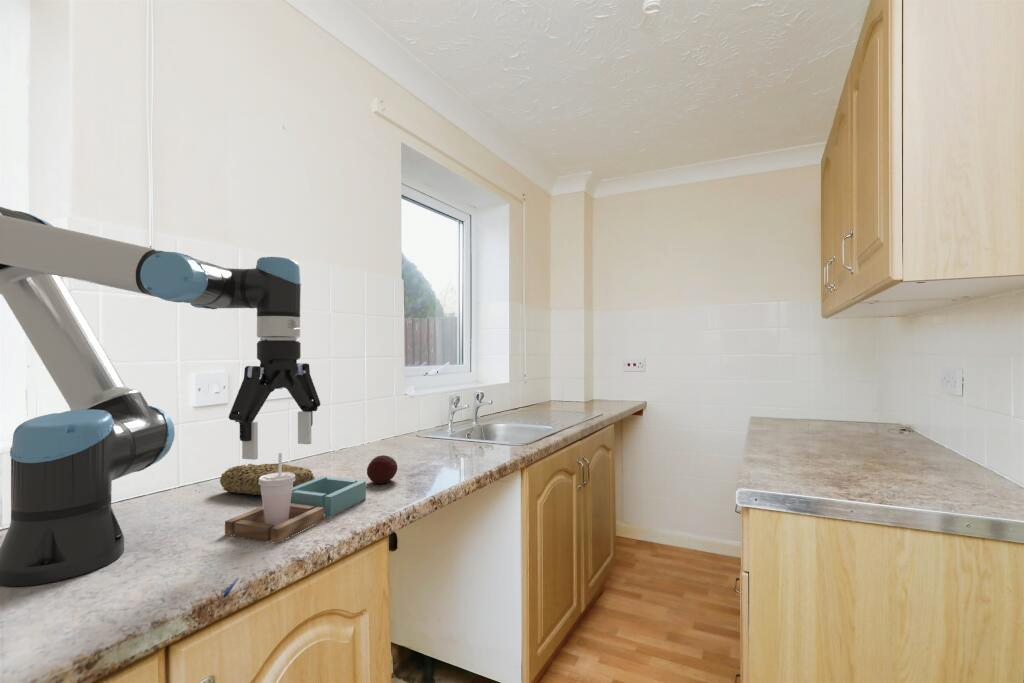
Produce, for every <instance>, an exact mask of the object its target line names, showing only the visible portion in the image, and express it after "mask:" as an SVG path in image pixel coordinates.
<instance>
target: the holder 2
mask: <svg viewBox="0 0 1024 683" xmlns="http://www.w3.org/2000/svg"><path fill="white" fill-rule="evenodd" d="M366 494H367V481H365V480H359V481H358V480H357V479H348V478H340V477H332V476H331V477H328V476H320V477H317V478H315V479H314V480H311V481H308V482H306V483H303V484H300V485H298V486H295V487H293V489H292V496H291V503H294V504H301V505H309V506H315V508H316V507H324V517H329V516H331V517H333V516H335V515H337V514H339V513H340V511H341V512H343V511H345V510H347V509H349V508H351V507H352V505H353V506H355V505H357V504H358V502H359V503H361V502H363V501H364V499H365V500H366V499H367V495H366ZM362 500H363V501H362ZM360 501H361V502H360ZM356 503H357V504H356ZM354 504H355V505H354ZM350 506H351V507H350ZM348 507H349V508H348ZM346 508H347V509H346ZM344 509H345V510H344ZM342 510H343V511H342ZM338 512H339V513H338ZM336 513H337V514H336ZM334 514H335V515H334ZM332 515H333V516H332Z"/></svg>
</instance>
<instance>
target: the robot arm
mask: <svg viewBox="0 0 1024 683" xmlns="http://www.w3.org/2000/svg"><path fill="white" fill-rule="evenodd" d="M300 271H301V269H300V265H299V263H298V262H297V261H296V260H295V259H293V258H288V257H280V256H279V257H278V256H266V257H265V256H264V257H259V258H258V259H257V261H256V266H255V268H254V267H253V268H227V267H223V266H219V265H216V264H215V263H214V264H213V263H209V262H208V261H207V262H206V261H203V260H200V259H197V258H194V257H193V256H190V255H188V254H184V253H179V252H175V251H165V250H158V249H156V248H152V247H146V246H142V245H137V244H134V243H128V242H124V241H120V240H115V239H111V238H107V237H101V236H98V235H97V236H96V235H94V234H93V235H92V234H88V233H84V232H79V231H75V230H70V229H66V228H61V227H57V226H54V225H52V224H51V223H49V222H48V221H46V220H44V219H42V218H39V217H37V216H35V215H32V214H30V213H27V212H24V211H18V210H14V209H13V210H12V209H11V208H6V207H2V206H0V295H2V297H3V298H4V300H5V302H6V303H7V306H8V308H10V310H11V312H12V314H13V315H14V318H16V320H17V322H18V323H19V325H20V326H21V330H23V332H24V333H25V335H26V337H27V339H28V340H29V342H30V344H31V345H32V347H33V349H34V350H35V352H36V354H37V355H38V357H39V358H40V360H41V362H42V364H43V365H44V367H45V369H46V371H47V372H48V373H49V376H50V378H51V379H52V380H53V382H54V383H55V385H56V387H57V388H58V390H59V391H60V393H61V395H62V397H63V398H64V400H65V402H66V404H67V405H68V406H69V409H70V410H66V411H62V412H53V413H49V414H48V413H47V414H43V415H40V416H37V417H33V418H29V419H28V420H25V421H23V422H22V423H20V424H18V426H17V427H16V428H15V429H14V431H13V434H12V444H11V447H10V451H9V456H10V524H9V526H8V529H7V531H6V534H5V536H4V539H3V541H2V543H1V545H0V586H7V587H25V586H26V587H27V586H35V585H42V584H48V583H53V582H59V581H62V580H67V579H71V578H74V577H77V576H82V575H84V574H86V573H90V572H93V571H96V570H98V569H100V568H102V567H105V566H107V565H109V564H110V563H112V562H114V561H116V560H117V559H119V558H120V557H121V556H122V555H123V554H124V552H125V536H124V534H123V531H122V528H121V527H120V524H119V522H118V520H117V519H118V518H117V517H116V514H115V511H114V510H113V507H112V488H113V487H112V485H113V484H112V483H113V482H112V481H114V480H118V479H120V478H122V477H125V476H127V475H130V474H132V473H133V474H134V473H135V472H136V473H137V472H141V471H144V470H145V469H147V468H149V467H151V466H152V465H154V464H156V463H157V462H160V461H161V460H162V459H163V458H164V457H166V455H168V453H169V452H170V450H171V448H172V445H173V443H174V441H175V425H174V423H173V420H172V419H171V416H170V415H169V414H168V413H167V412H165V411H164V410H163V409H161V408H158V407H155V406H152V405H149V404H148V402H147V401H146V399H145V398H144V395H143V394H142V392H141V391H140V390H137V389H133V388H129V387H127V386H126V385H125V383H124V380H122V378H121V376H120V374H119V373H118V371H117V370H116V367H115V366H114V365H113V362H112V361H111V359H110V358H109V355H108V354H107V352H106V351H105V349H104V348H103V345H102V344H101V342H100V341H99V339H98V337H97V336H96V334H95V332H94V330H93V329H92V327H91V326H90V323H89V322H88V321H87V319H86V317H85V315H84V314H83V312H82V310H81V308H80V306H79V305H78V303H77V301H76V300H75V299H74V297H73V295H72V293H71V292H70V290H69V288H68V287H67V285H66V283H65V282H64V280H63V279H64V278H67V279H71V280H77V281H82V282H87V283H90V284H95V285H101V286H105V287H110V288H115V289H120V290H125V291H128V292H133V293H138V294H142V295H148V296H150V297H156V298H159V299H161V300H164V301H167V302H173V303H183V304H184V303H185V304H190V305H191V306H192V307H194V308H198V309H208V310H209V309H210V310H217V309H256V337H257V338H259V339H260V340H258V341H257V342H256V358H257V360H259V362H260V363H259V366H257V365H246V366H245V367H244V372H243V380H242V382H241V385H240V387H239V389H238V392H237V395H236V397H235V399H234V402H233V403H232V404H233V405H232V407H231V409H230V413H229V415H228V419H229V420H230V421H234V422H235V423H238V424H239V440H240V442H241V443H242V444H241V448H242V450H241V453H242V454H241V455H242V456H241V458H242V460H243V459H244V460H251V461H252V460H253V461H255V460H258V459H259V458H258V457H259V455H258V454H259V453H258V452H259V450H258V449H259V445H258V443H259V442H258V440H259V439H258V438H259V435H258V429H259V428H258V425H259V423H258V421H254V420H255V418H256V417H257V415H258V414H259V413H260V410H261V409H262V408H263V406H264V404H265V403H266V401H267V399H268V397H269V396H270V394H271V393H273V392H274V391H275V390H278V389H287V391H288V393H289V394H290V396H291V397H292V399H293V400H294V402H295V403H296V404H297V406H298V407H299V408H300V410H301V411H297V444H299V445H311V444H312V426H313V424H314V423H313V414H314V413H313V412H317V411H318V408H319V407H320V406H321V400H320V398H319V396H318V393H317V390H316V387H315V384H314V382H313V379H312V376H311V370H310V364H309V363H301V362H300V363H298V362H297V360H298V361H299V360H300V359H301V349H302V348H301V342H300V340H298V338H300V337H301V286H302V283H301V272H300Z"/></svg>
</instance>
